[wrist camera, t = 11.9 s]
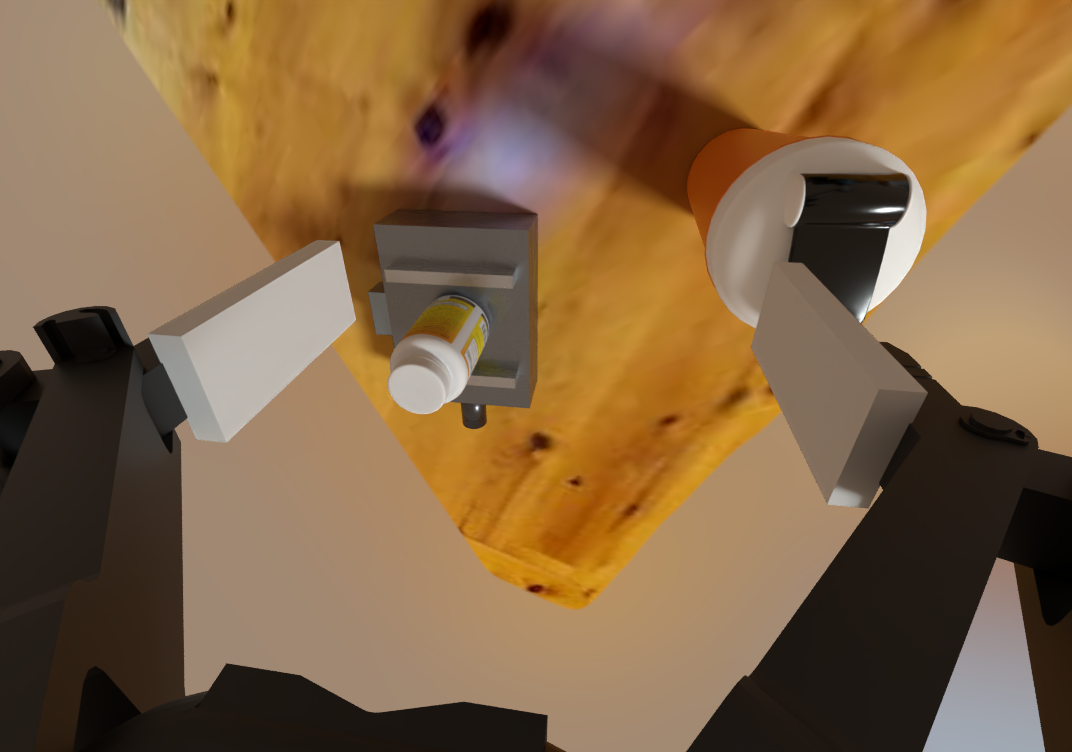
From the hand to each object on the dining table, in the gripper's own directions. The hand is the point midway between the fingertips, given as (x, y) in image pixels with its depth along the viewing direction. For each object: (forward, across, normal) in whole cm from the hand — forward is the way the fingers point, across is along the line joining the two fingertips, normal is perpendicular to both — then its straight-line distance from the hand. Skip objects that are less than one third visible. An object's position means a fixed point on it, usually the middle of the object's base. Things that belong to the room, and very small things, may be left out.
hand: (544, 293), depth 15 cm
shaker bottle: (+27, +11, -1) cm, 29 cm away
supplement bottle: (+22, -10, -12) cm, 27 cm away
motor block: (+26, -11, -14) cm, 32 cm away
